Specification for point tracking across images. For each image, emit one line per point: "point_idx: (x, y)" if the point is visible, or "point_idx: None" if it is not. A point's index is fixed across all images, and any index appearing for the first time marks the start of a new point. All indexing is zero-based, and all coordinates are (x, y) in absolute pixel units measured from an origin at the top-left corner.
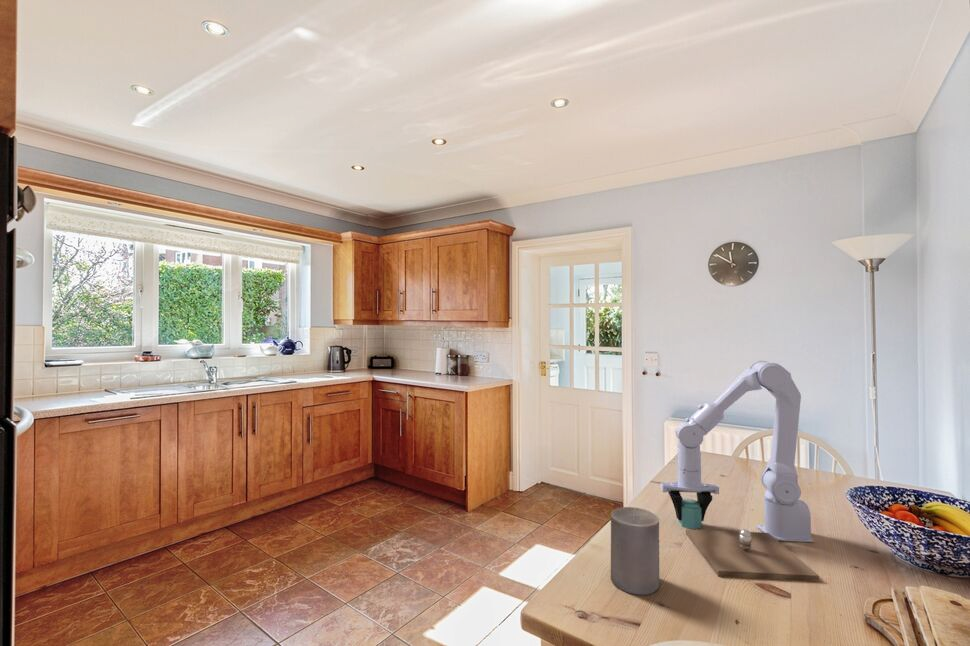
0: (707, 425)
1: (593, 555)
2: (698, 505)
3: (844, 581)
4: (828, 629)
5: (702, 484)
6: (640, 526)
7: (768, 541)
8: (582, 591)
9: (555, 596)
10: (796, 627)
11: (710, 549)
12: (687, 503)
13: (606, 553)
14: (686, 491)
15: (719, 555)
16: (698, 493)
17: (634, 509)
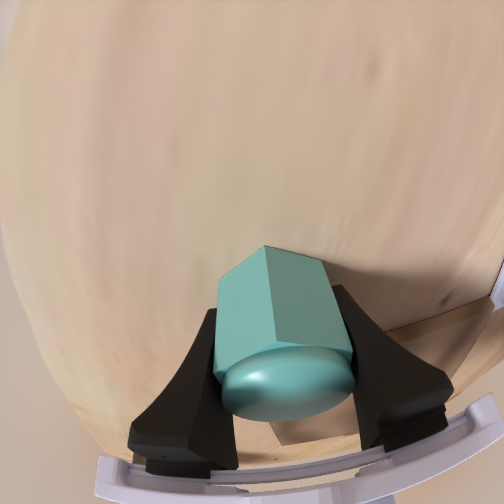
0: None
1: (88, 419)
2: (329, 407)
3: (459, 383)
4: (359, 444)
5: (433, 468)
6: None
7: (455, 351)
8: (123, 449)
9: (108, 448)
10: (331, 451)
11: (291, 421)
12: (269, 413)
13: (99, 418)
14: (272, 474)
15: (302, 427)
16: (376, 423)
17: None
